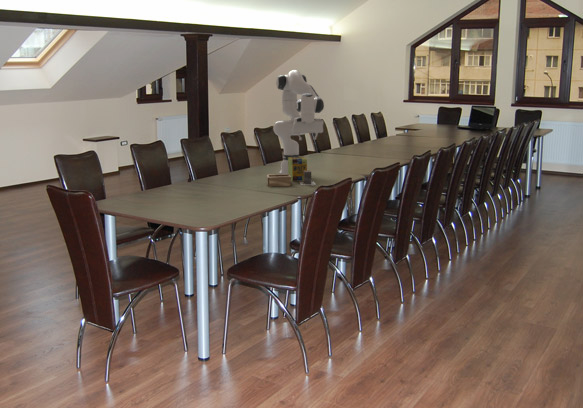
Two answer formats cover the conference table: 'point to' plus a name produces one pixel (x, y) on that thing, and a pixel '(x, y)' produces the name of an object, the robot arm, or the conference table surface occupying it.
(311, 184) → the felt pad
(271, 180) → the brown wooden open box
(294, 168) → the protein box
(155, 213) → the conference table surface
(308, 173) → the capped block
